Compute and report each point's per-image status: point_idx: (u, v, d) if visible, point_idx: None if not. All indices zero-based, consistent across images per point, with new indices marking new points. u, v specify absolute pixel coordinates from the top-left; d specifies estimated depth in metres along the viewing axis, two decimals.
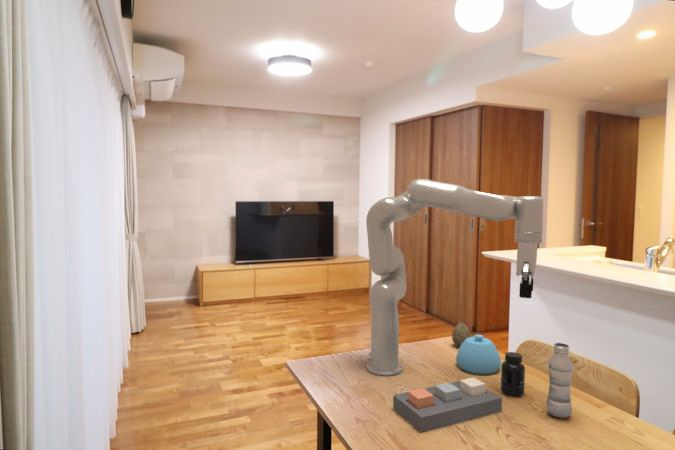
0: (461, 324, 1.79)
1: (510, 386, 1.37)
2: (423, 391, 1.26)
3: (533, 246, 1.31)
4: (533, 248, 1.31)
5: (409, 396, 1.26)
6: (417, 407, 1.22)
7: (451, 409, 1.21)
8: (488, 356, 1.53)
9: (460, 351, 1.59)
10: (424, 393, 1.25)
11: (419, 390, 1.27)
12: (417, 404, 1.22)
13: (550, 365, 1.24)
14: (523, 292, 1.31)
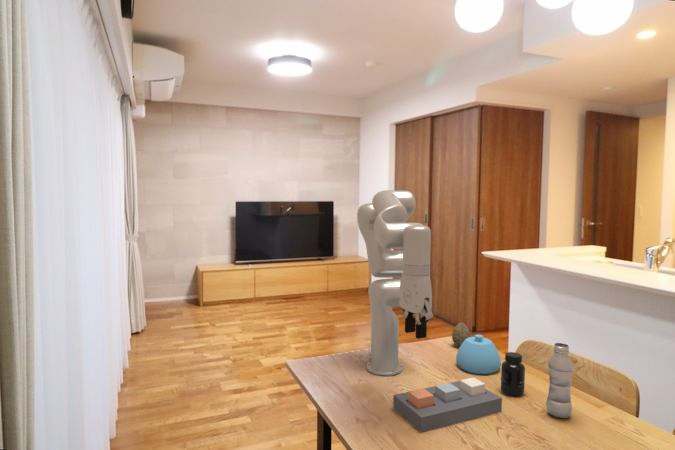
0: (461, 324, 1.79)
1: (510, 386, 1.37)
2: (423, 391, 1.26)
3: (430, 280, 1.22)
4: (430, 282, 1.22)
5: (409, 396, 1.26)
6: (417, 407, 1.22)
7: (451, 409, 1.21)
8: (488, 356, 1.53)
9: (460, 351, 1.59)
10: (424, 393, 1.25)
11: (419, 390, 1.27)
12: (417, 404, 1.22)
13: (550, 365, 1.24)
14: (421, 333, 1.23)
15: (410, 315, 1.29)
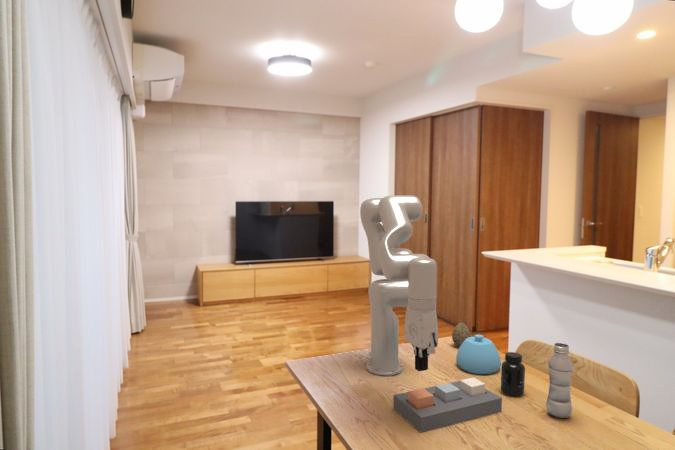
0: (461, 324, 1.79)
1: (510, 386, 1.37)
2: (423, 391, 1.26)
3: (436, 314, 1.20)
4: (436, 316, 1.20)
5: (409, 396, 1.26)
6: (417, 407, 1.22)
7: (451, 409, 1.21)
8: (488, 356, 1.53)
9: (460, 351, 1.59)
10: (424, 393, 1.25)
11: (419, 390, 1.27)
12: (417, 404, 1.22)
13: (550, 365, 1.24)
14: (423, 365, 1.23)
15: None
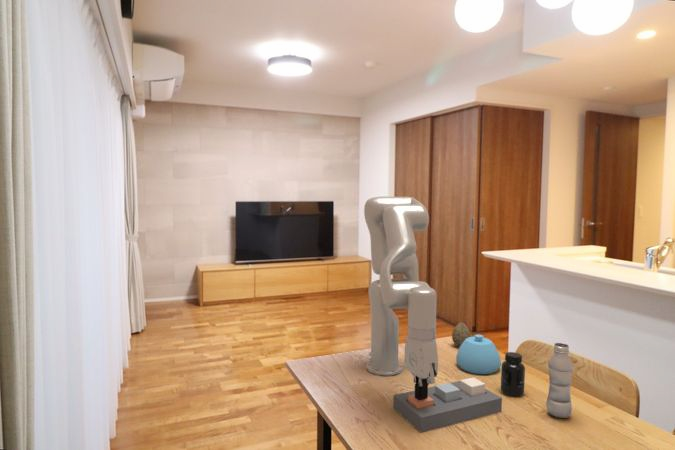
0: (461, 324, 1.79)
1: (510, 386, 1.37)
2: None
3: (435, 344, 1.21)
4: (436, 346, 1.21)
5: (409, 400, 1.26)
6: None
7: (451, 409, 1.21)
8: (488, 356, 1.53)
9: (460, 351, 1.59)
10: None
11: None
12: None
13: (550, 365, 1.24)
14: (422, 394, 1.23)
15: None
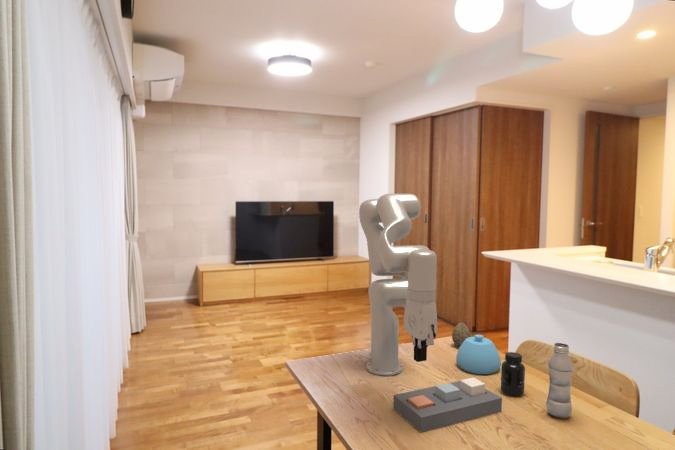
0: (461, 324, 1.79)
1: (510, 386, 1.37)
2: (423, 398, 1.26)
3: (435, 306, 1.21)
4: (435, 308, 1.21)
5: None
6: None
7: (451, 409, 1.21)
8: (488, 356, 1.53)
9: (460, 351, 1.59)
10: (424, 400, 1.25)
11: (419, 397, 1.27)
12: None
13: (550, 365, 1.24)
14: (421, 356, 1.24)
15: None
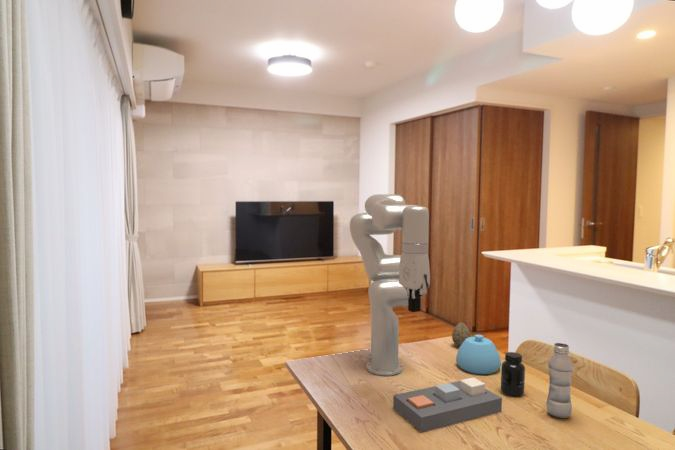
0: (461, 324, 1.79)
1: (510, 386, 1.37)
2: (423, 398, 1.26)
3: None
4: (428, 259, 1.28)
5: None
6: None
7: (451, 409, 1.21)
8: (488, 356, 1.53)
9: (460, 351, 1.59)
10: (424, 400, 1.25)
11: (419, 397, 1.27)
12: None
13: (550, 365, 1.24)
14: (415, 306, 1.31)
15: None
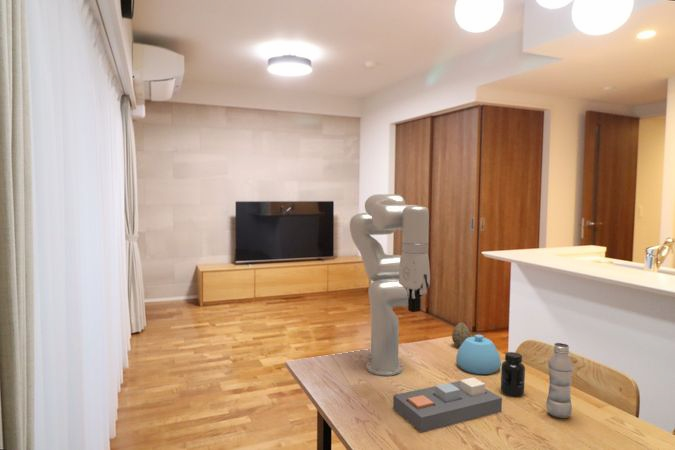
0: (461, 324, 1.79)
1: (510, 386, 1.37)
2: (423, 398, 1.26)
3: None
4: (428, 259, 1.28)
5: None
6: None
7: (451, 409, 1.21)
8: (488, 356, 1.53)
9: (460, 351, 1.59)
10: (424, 400, 1.25)
11: (419, 397, 1.27)
12: None
13: (550, 365, 1.24)
14: (415, 306, 1.31)
15: None
